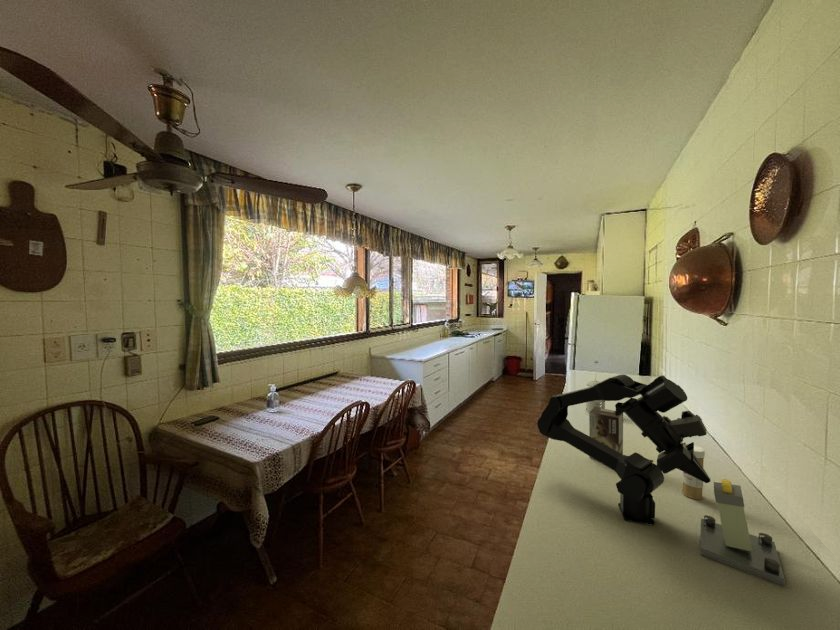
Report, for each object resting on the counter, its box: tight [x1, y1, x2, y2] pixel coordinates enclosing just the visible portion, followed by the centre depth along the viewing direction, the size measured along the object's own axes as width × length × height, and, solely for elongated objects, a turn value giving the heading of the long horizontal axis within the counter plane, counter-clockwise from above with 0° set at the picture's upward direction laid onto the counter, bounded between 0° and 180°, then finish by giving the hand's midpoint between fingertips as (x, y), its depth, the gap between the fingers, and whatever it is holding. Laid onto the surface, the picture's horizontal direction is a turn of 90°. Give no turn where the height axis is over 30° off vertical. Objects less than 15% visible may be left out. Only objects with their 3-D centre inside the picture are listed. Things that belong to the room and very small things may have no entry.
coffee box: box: [588, 407, 624, 460], centre depth 111 cm, size 9×6×16 cm
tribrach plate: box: [700, 514, 785, 587], centre depth 70 cm, size 12×12×3 cm
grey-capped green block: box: [713, 478, 752, 552], centre depth 70 cm, size 4×5×12 cm
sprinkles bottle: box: [681, 443, 706, 500], centre depth 90 cm, size 5×5×14 cm
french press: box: [584, 360, 606, 414], centre depth 153 cm, size 10×12×25 cm
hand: (708, 481), depth 73 cm, fingers closed
